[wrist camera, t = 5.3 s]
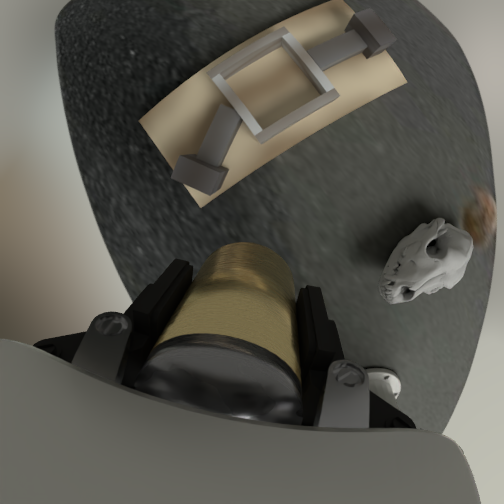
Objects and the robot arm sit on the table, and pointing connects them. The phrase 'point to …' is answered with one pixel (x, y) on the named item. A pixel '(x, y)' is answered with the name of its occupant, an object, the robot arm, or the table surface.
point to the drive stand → (271, 95)
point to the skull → (426, 262)
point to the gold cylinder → (232, 340)
